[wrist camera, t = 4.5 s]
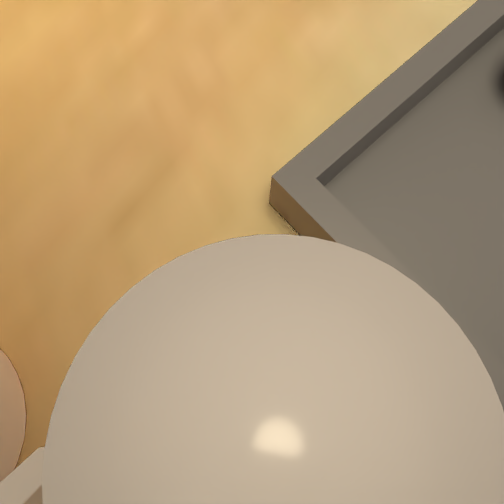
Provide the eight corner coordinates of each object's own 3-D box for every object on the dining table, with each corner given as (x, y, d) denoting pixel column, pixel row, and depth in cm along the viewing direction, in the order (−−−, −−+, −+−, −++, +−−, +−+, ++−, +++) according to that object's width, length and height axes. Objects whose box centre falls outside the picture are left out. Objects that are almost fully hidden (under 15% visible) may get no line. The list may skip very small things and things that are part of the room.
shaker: (151, 396, 16) (-52, 443, 5) (265, 293, 17) (288, 153, 6) (256, 523, 15) (265, 890, 4) (370, 407, 16) (614, 476, 5)
